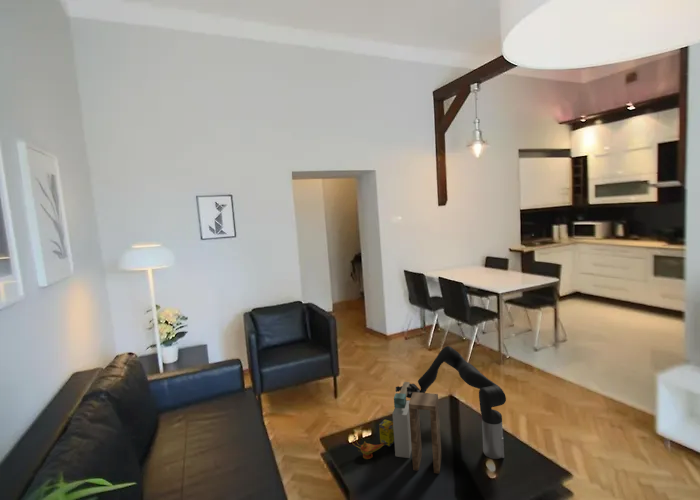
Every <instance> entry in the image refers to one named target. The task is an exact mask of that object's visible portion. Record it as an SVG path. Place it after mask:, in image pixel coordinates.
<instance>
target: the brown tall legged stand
mask: <svg viewBox="0 0 700 500" xmlns="http://www.w3.org/2000/svg"><path fill="white" fill-rule="evenodd" d="M409 401H410V402H409V415H410V431H411V446H412V450H411V457H412V458H411V459H412V469H413V471H419V469H420V467H421V466H420V465H421V460H422V455H423V452H422V451H423V450H422V434H421V433H422V432H421V420H420V410H424V411H429V416H430V431H431V447H432V448H431V449H432V451H431V452H432V464H433V466H432V467H433V474H440V473H441V472H440V471H441V466H442V465H441V464H442V440H441V425H440V424H441V423H440V408H439V394H438V393H433V392H431V393H430V392H429V393H428V392H425V393H419V392H413V393H412V396H411V398H409Z"/></svg>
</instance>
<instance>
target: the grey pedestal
mask: <svg viewBox="0 0 700 500" xmlns="http://www.w3.org/2000/svg"><path fill="white" fill-rule="evenodd" d="M409 402H410V399H409V400H407V399H406V406H405V409H404V408H394V409H393V412H392V422H393V429H394V443H393V444H394V452H395V453H394V455H395V456H394V457H399V458H405V459H410V458H411V455H412V446H411V431H410V415H409Z"/></svg>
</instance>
